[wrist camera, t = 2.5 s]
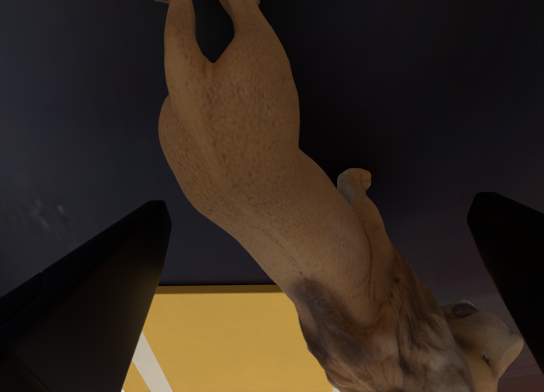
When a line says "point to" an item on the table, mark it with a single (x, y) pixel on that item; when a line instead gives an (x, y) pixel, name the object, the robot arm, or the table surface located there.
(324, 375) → the towel
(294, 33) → the table surface
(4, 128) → the table surface
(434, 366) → the lion figurine
